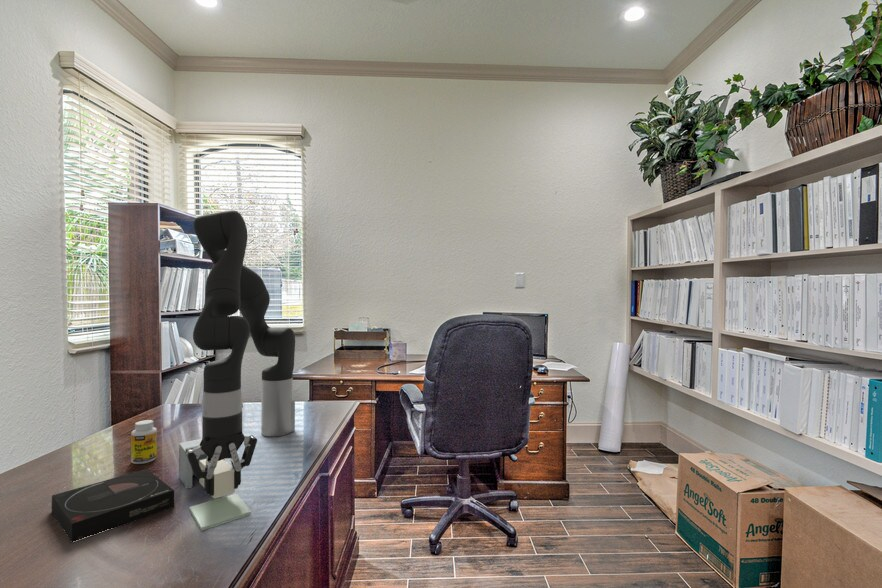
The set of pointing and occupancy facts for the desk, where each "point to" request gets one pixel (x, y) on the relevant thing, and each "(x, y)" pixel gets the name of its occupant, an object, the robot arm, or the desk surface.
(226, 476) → the beige rectangular block
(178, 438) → the desk surface
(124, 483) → the portable cd player
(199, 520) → the mat
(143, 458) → the supplement bottle
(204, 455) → the dispenser
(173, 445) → the desk surface
